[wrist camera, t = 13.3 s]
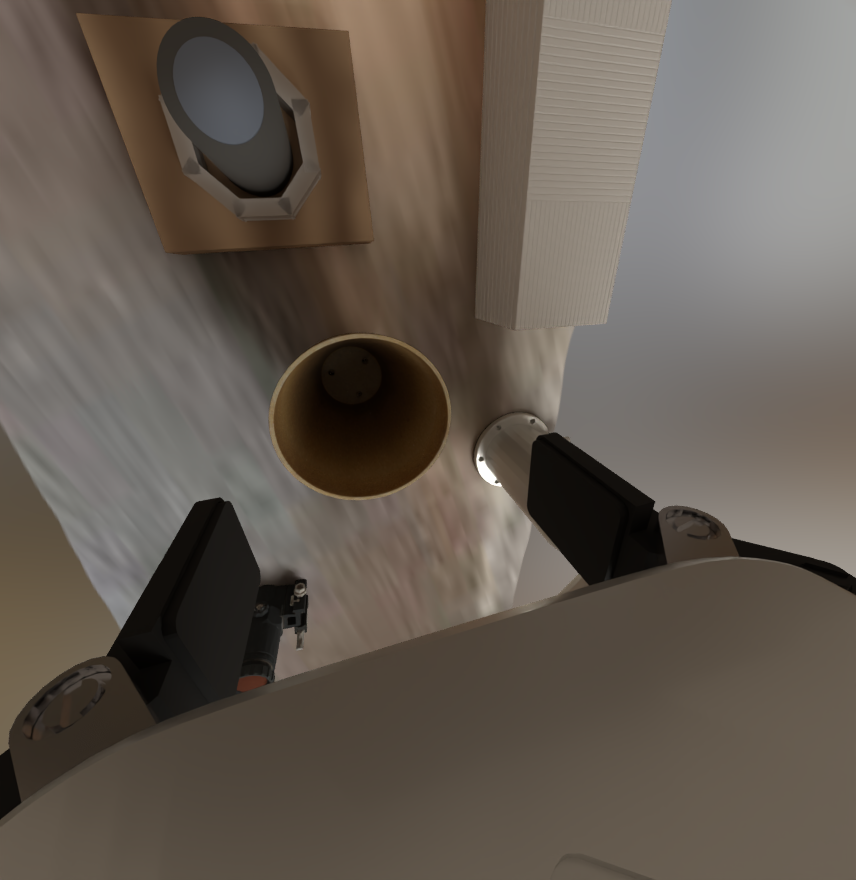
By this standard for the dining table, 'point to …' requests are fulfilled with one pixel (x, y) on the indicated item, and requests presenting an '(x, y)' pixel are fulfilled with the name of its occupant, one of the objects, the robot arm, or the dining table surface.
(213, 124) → the lens
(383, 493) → the plant pot
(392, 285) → the dining table surface
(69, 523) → the dining table surface
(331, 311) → the dining table surface
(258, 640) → the scope
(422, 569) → the dining table surface
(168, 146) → the wooden block
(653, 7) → the stack of papers
